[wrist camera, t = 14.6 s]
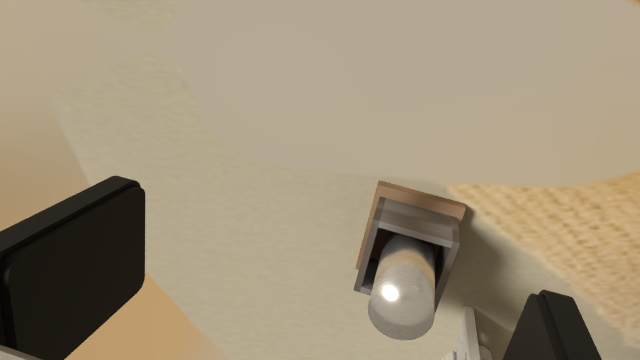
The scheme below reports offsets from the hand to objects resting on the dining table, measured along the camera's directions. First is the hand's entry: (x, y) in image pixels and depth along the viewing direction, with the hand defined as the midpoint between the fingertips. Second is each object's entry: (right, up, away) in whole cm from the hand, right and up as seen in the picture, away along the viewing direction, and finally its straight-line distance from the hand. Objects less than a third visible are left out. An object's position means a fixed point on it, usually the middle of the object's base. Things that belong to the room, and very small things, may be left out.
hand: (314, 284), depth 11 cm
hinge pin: (+7, -2, +26) cm, 27 cm away
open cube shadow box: (+7, -2, +27) cm, 28 cm away
